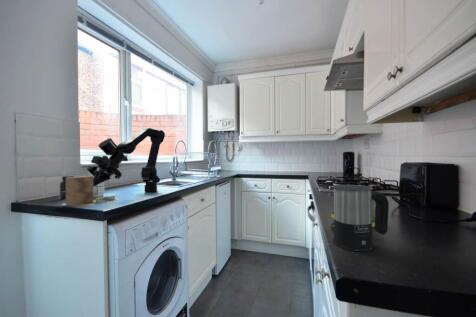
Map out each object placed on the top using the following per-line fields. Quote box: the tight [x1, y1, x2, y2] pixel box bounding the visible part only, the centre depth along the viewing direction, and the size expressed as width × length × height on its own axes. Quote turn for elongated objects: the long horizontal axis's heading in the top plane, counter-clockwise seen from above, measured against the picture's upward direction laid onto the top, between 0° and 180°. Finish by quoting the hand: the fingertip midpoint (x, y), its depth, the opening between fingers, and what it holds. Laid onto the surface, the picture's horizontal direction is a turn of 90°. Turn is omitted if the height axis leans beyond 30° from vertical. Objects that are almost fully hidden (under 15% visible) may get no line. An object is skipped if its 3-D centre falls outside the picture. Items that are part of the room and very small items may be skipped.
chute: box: [60, 193, 122, 208], centre depth 103 cm, size 19×14×3 cm
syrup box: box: [87, 170, 106, 195], centre depth 126 cm, size 6×6×14 cm
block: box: [65, 175, 94, 207], centre depth 98 cm, size 8×6×12 cm
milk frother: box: [330, 184, 390, 252], centre depth 60 cm, size 14×16×15 cm
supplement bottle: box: [58, 175, 75, 200], centre depth 114 cm, size 7×7×12 cm
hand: (92, 185), depth 103 cm, fingers closed
